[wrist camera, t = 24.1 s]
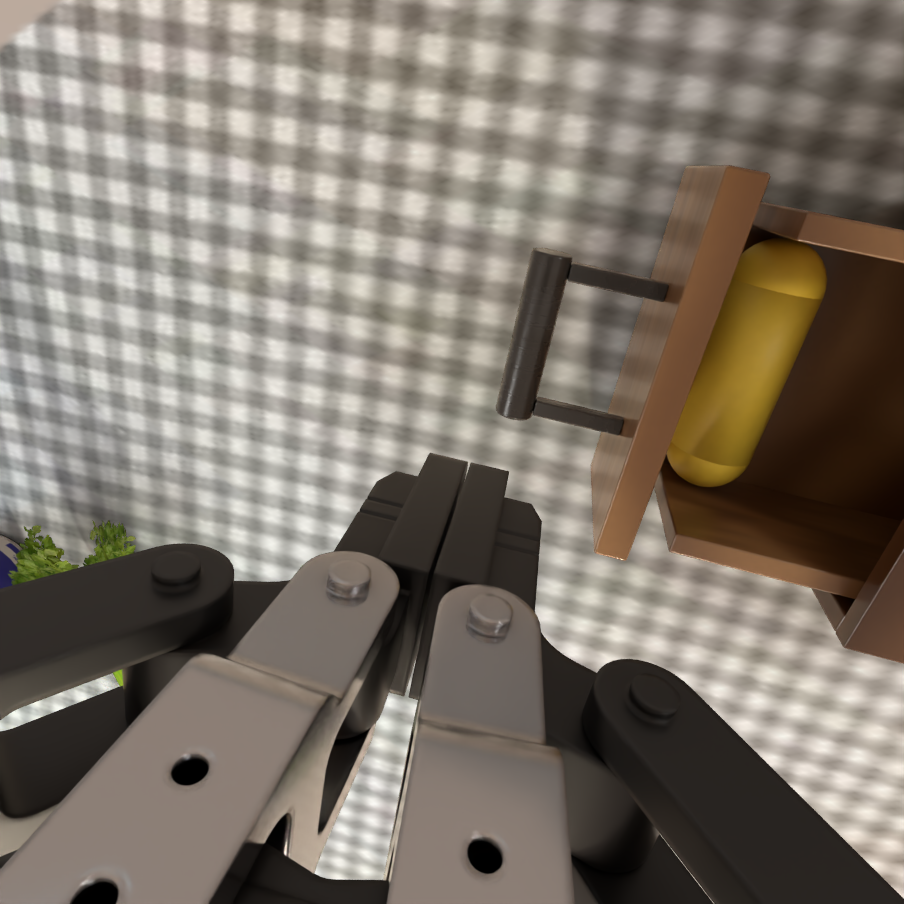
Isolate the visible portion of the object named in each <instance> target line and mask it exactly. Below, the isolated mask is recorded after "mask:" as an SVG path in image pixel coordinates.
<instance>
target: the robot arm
mask: <svg viewBox="0 0 904 904" xmlns="http://www.w3.org/2000/svg"><path fill="white" fill-rule="evenodd" d="M467 466H468V462H466V461H462V460H458V459H454V458H450V457H445V456H441V455H437V454H433V453H430V454H429V455H428V457H427V459H426V461H425V463H424V465H423V467H422V469H421V471H420V473H419V475H418V477H417V476H413V475H409V474H405V473H401V472H397V471H396V472H394V473H392V474H390V475H388V476H386V477H384V478H383V479H381V480H379V481H377V482H376V484H375V486H374V487H373V489H372V490H371V492H370V494H369V495H368V498H367V499H366V500H365V502H364V503H363V505H362V507H361V508H360V512H358V513H357V515H356V516H355V518H354V520H353V521H352V523H351V524H350V526H349V528H348V529H347V531H346V533H345V534H344V536H343V537H342V539H341V541H340V542H339V544H338V545H337V547H336V549H335V550H334V552H329V553H325V554H321V555H318V556H316V557H314V558H312V559H310V560H309V561H307V562H306V563H305V564H304V565H303V566H302V567H301V568H300V569H299V570H298V572H297V573H296V574H295V575H294V576H293V578H292V579H291V580H289V581H280V582H255V581H234V569H233V565H232V564H231V562H230V560H229V559H228V558H227V557H226V556H225V555H223V554H222V553H220V552H219V551H217V550H214V549H212V548H209V547H206V546H202V545H196V544H170V545H164V546H159V547H155V548H151V549H147V550H143V551H140V552H136V553H132V554H128V555H125V556H121V557H117V558H113V559H110V560H106V561H102V562H98V563H95V564H91V565H87V566H83V567H80V568H76V569H72V570H68V571H65V572H61V573H57V574H53V575H49V576H46V577H42V578H38V579H34V580H31V581H27V582H23V583H19V584H16V585H12V586H8V587H4V588H1V589H0V720H1V719H2V718H4V717H5V716H6V715H8V714H9V713H11V712H13V711H15V710H16V709H19V708H21V707H23V706H26V705H29V704H31V703H34V702H36V701H39V700H42V699H44V698H47V697H50V696H52V695H55V694H58V693H60V692H63V691H66V690H68V689H71V688H74V687H76V686H79V685H82V684H84V683H87V682H90V681H92V680H95V679H98V678H100V677H103V676H105V675H108V674H111V673H113V672H116V671H119V670H121V669H122V676H123V686H120V687H117V688H115V689H112V690H110V691H107V692H105V693H102V694H100V695H97V696H95V697H92V698H89V699H87V700H84V701H82V702H79V703H77V704H74V705H72V706H69V707H67V708H64V709H61V710H59V711H56V712H54V713H51V714H49V715H46V716H44V717H41V718H39V719H36V720H33V721H31V722H28V723H26V724H23V725H21V726H18V727H16V728H13V729H10V730H6V731H0V904H713V903H712V901H713V902H714V904H904V899H903V898H902V897H901V896H900V895H899V894H898V893H897V892H896V891H895V890H894V889H893V888H892V887H891V886H890V885H889V884H888V883H887V882H886V881H885V880H884V879H883V878H882V877H881V876H880V875H879V874H878V873H877V872H876V871H875V870H874V869H873V868H872V867H871V866H870V865H869V864H868V863H867V862H866V861H865V860H864V859H863V858H862V857H861V856H860V855H859V854H858V853H857V852H856V851H855V850H854V849H853V848H852V847H851V846H850V845H849V844H848V843H847V842H846V841H845V840H844V839H843V838H842V837H841V836H840V835H839V834H838V833H837V832H836V831H835V830H834V829H833V828H832V827H831V826H830V825H829V824H828V823H827V822H826V821H825V820H824V819H823V818H822V817H821V816H820V815H819V814H818V813H817V812H816V811H815V810H814V809H813V808H812V807H811V806H810V805H809V804H808V803H807V802H806V801H805V800H804V799H803V798H802V797H801V796H800V795H799V794H798V793H797V792H796V791H795V790H793V789H792V788H791V787H790V786H789V785H788V784H787V783H786V782H785V781H784V780H783V779H782V778H781V777H780V776H779V775H778V774H777V773H776V772H775V771H774V770H773V769H772V768H771V767H770V766H769V765H768V764H767V763H766V762H765V761H764V760H763V759H762V758H761V757H760V756H759V755H758V754H757V753H756V752H755V751H754V750H753V749H752V748H751V747H750V746H749V745H748V744H747V743H746V742H745V741H744V740H743V739H742V738H741V737H740V736H739V735H738V734H737V733H736V732H735V731H734V730H733V729H732V728H731V727H730V726H729V725H728V724H727V723H726V722H725V721H724V720H723V719H722V718H721V717H720V716H719V715H718V714H717V713H716V712H715V711H714V710H713V709H712V708H711V707H710V706H709V705H708V704H707V703H706V702H705V701H704V700H703V699H702V698H701V697H700V696H699V695H698V694H697V693H696V692H695V691H694V690H693V689H692V688H691V687H689V686H688V685H687V684H686V683H685V682H684V681H683V680H681V679H680V678H678V677H677V676H676V675H674V674H673V673H671V672H669V671H667V670H666V669H664V668H661V667H659V666H657V665H654V664H651V663H648V662H645V661H640V660H633V659H620V660H615V661H612V662H610V663H607V664H606V665H604V666H603V667H602V668H601V669H600V670H599V671H598V672H597V673H596V672H594V671H592V670H590V669H588V668H586V667H584V666H582V665H580V664H578V663H576V662H575V661H573V660H571V659H569V658H568V657H566V656H564V655H563V654H562V653H560V652H559V651H558V650H556V649H555V648H554V647H553V646H552V645H551V644H550V643H549V642H548V641H547V640H546V639H545V637H544V636H543V634H542V633H541V628H540V622H539V620H538V617H537V615H536V614H535V600H536V588H537V575H538V562H539V550H540V537H541V524H542V521H541V519H540V518H539V516H538V514H537V513H536V511H535V509H534V507H533V506H532V504H529V503H525V502H521V501H517V500H513V499H509V498H505V497H504V495H505V490H506V485H507V480H508V475H509V471H505V470H500V469H496V468H492V467H488V466H484V465H479V464H475V463H471V464H470V467H469V470H468V473H467V476H466V472H467ZM465 477H466V479H465ZM464 481H465V482H464ZM416 657H417V658H416ZM415 660H416V663H415ZM414 663H415V668H414V673H413V678H412V683H411V688H410V693H409V698H413V699H416V700H418V703H417V708H416V713H415V717H414V723H413V727H412V731H411V736H410V741H409V745H408V750H407V755H406V761H405V766H404V771H403V777H402V782H401V787H400V793H399V798H398V803H397V809H396V814H395V819H394V825H393V830H392V835H391V840H390V846H389V851H388V856H387V862H386V867H385V872H384V877H383V880H333V879H326V878H323V877H320V876H318V875H316V874H314V873H315V870H316V867H317V864H318V861H319V858H320V856H321V853H322V851H323V849H324V846H325V844H326V842H327V839H328V837H329V835H330V833H331V831H332V828H333V826H334V824H335V822H336V819H337V817H338V815H339V813H340V810H341V808H342V806H343V804H344V801H345V799H346V797H347V795H348V792H349V790H350V788H351V786H352V783H353V781H354V779H355V777H356V774H357V772H358V770H359V768H360V765H361V763H362V761H363V759H364V756H365V754H366V752H367V750H368V748H369V745H370V743H371V741H372V738H373V735H374V731H375V726H376V722H377V720H378V719H379V717H380V715H381V713H382V711H383V708H384V705H385V702H386V699H387V696H388V693H389V692H390V693H393V694H397V695H401V696H404V695H405V692H406V689H407V686H408V682H409V679H410V676H411V673H412V670H413V667H414ZM660 834H661V835H662V837H663V838H664V839H665V840H666V842H667V843H668V844H669V846H670V847H671V848H672V849H673V851H674V852H675V853H676V855H677V856H678V857H679V859H680V860H681V861H682V862H683V864H684V865H685V866H686V868H687V869H688V870H689V871H690V873H691V874H692V875H693V877H694V878H695V879H696V880H697V882H698V883H699V884H700V886H701V887H702V888H703V889H704V891H705V892H706V893H707V895H708V896H709V897H710V898H711V900H712V901H711V900H710V899H709V897H708V896H707V895H706V894H705V892H704V891H703V890H702V888H701V887H700V886H699V884H698V883H697V882H696V881H695V879H694V878H693V877H692V875H691V874H690V873H689V872H688V870H687V869H686V868H685V866H684V865H683V864H682V863H681V861H680V860H679V859H678V857H677V856H676V855H675V853H674V852H673V851H672V850H671V848H670V847H669V846H668V844H667V843H666V842H665V841H664V839H663V838H662V837H661V835H660Z"/></svg>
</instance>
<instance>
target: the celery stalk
mask: <svg viewBox="0 0 904 904" xmlns="http://www.w3.org/2000/svg"><path fill="white" fill-rule="evenodd" d="M102 522H103V520H102ZM93 523H94V528H93V529H94V531H93V530H92V532H91V535H90V539H92V540H94V538H95V535H98V536H99V535H100V536H99V537H100V541H101V543H102V544H103V543H104V545H102V544H99V540H98V536H97V539H96V545H97V543H98V545H97V547H96V548H94V551H96V552H95V553H96V556H95V555H94V556H93V555H92V554H91V555H89V558H85V560H84V562H85V563H86V564H87V565H90V564H95V563H98V562H102V561H106V560H110V559H113V558H117V557H121V556H125V555H128V554H132V553H134V552H133V551H134V550H135V548H136V546H135V545H134V546H130V545H131V544H130V543H125V542H127V541H134V539H136V538H134V537H133V536H129V537H128V538H127V536H126V528H125V532H124V526H123V524H122V525H120V522H119V524H118V527H116V525H114V523H113V524H112V528H111V523H110V521H108V522H107V524H106V526H105V524H104V522H103V524H102V525H103V527H104V529H103V527H102V526H101V527H100V526H99V529H98V528H97V527H96V526H95V522H94V521H93ZM24 529H25V531H27V532H28V533H29V534H28V536H29V539H28V538H26V539H25V540H26V541H24V542H25V545H26V546H27V547H28V548H26V547H25V546H24V544H21V543H19V544H20V546H21V547H22V548H23V549H24V548H25V549H24V550H20V551H19V552H18V554H16V557H17V558H18V560H17V561H18V562H19V563H17V564H16V565H17V567H18V569H17V570H18V571H19V572H18V571H17V572H16V571H13V570H12V571H10V572H11V573H12V574H13V575H12V574H8V575H9V577H10V578H11V579H14V580H15V581H14V580H12V582H11V583H12V584H13V585H16V584H19V583H23V582H27V581H31V580H34V579H38V578H42V577H46V576H49V575H53V574H57V573H61V572H65V571H68V570H72V569H76V568H78V566H79V565H71V564H70V563H67V562H68V561H66V560H65V561H63V562H62V561H61V560H60V558H61V556H62V555H64V550H63V551H62V549H60V548H56V546H55V544H54V543H53V541H52V539H51V537H49V535H47V537H46V538H45V539H43V537H42V536H39V537H36V538H35V534H37V533H40V532H41V530H40V529H41V526H38V525H37V526H33V528H32V530H31V529H30V530H27V529H26V527H25V526H24ZM95 531H96V532H97V533H98V534H97V533H96V532H95ZM32 532H33V533H32ZM117 534H118V536H117V538H116V535H117ZM33 536H34V538H33ZM122 536H124V538H122ZM125 536H126V537H125ZM119 537H120V538H119ZM103 538H104V541H103ZM35 539H38V540H39V541H40V542H41V541H42V543H41V546H40V545H39V543H38V542H36V541H35V542H34V540H35ZM42 539H43V540H42ZM106 539H107V540H106ZM124 541H125V542H124ZM123 543H124V544H126V547H127V548H125V551H124V547H125V546H124V544H123ZM42 544H43V545H42ZM100 545H101V546H100ZM102 546H103V547H102ZM42 547H43V548H44V549H43V548H42ZM37 548H38V549H37ZM39 548H40V549H42V550H40V549H39ZM35 549H36V550H35ZM121 549H122V550H123V551H122V550H121ZM59 550H60V551H59ZM56 555H57V557H56ZM45 558H46V559H45ZM98 559H99V560H98ZM57 564H58V565H57ZM83 565H84V566H87V565H85V564H84V563H83ZM113 674H114V676H115V678H116V680H117V682H118V683H119V685H120V686H123V676H122V669H121V670H119V671H116V672H113Z"/></svg>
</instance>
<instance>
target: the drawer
mask: <svg viewBox="0 0 904 904" xmlns="http://www.w3.org/2000/svg"><path fill="white" fill-rule="evenodd" d="M769 179H770V174H769V173H766V172H760V171H755V170H750V169H745V168H740V167H735V166H730V165H721V166H686V168H685V170H684V174H683V177H682V180H681V183H680V186H679V189H678V193H677V196H676V199H675V202H674V205H673V208H672V211H671V215H670V218H669V221H668V224H667V227H666V230H665V233H664V237H663V240H662V243H661V246H660V249H659V252H658V255H657V259H656V262H655V265H654V268H653V271H652V274H651V277H650V278H645V277H641V276H636V275H632V274H627V273H622V272H618V271H613V270H609V269H604V268H599V267H595V266H590V265H586V264H581V263H576V262H572V256H571V255H569V254H567V253H564V252H560V251H557V250H552V249H547V248H533V249H532V252H531V256H530V261H529V265H528V269H527V274H526V278H525V282H524V287H523V291H522V295H521V300H520V304H519V308H518V313H517V317H516V321H515V326H514V330H513V334H512V339H511V343H510V348H509V352H508V356H507V361H506V365H505V369H504V374H503V378H502V382H501V387H500V391H499V395H498V400H497V404H496V411H497V412H498V413H499V414H500V415H502V416H504V417H506V418H509V419H513V420H528V419H530V418H531V416H532V413H533V415H534V416H538V417H542V418H547V419H551V420H555V421H559V422H563V423H567V424H572V425H576V426H580V427H584V428H588V429H592V430H597V431H601V435H600V438H599V441H598V444H597V447H596V451H595V454H594V457H593V460H592V463H591V485H592V511H593V537H594V552H595V553H597V554H601V555H605V556H608V557H612V558H616V559H620V560H624V561H625V560H627V558H628V555H629V552H630V550H631V547H632V544H633V542H634V539H635V536H636V534H637V531H638V528H639V526H640V523H641V520H642V518H643V515H644V512H645V510H646V507H647V504H648V502H649V499H650V496H651V494H652V491H653V488H655V493H656V497H657V501H658V505H659V510H660V514H661V518H662V523H663V527H664V531H665V535H666V540H667V544H668V548H669V551H670V552H672V553H676V554H680V555H684V556H688V557H692V558H696V559H700V560H704V561H708V562H712V563H715V564H719V565H723V566H727V567H731V568H735V569H739V570H743V571H747V572H751V573H755V574H759V575H762V576H766V577H770V578H774V579H778V580H782V581H786V582H790V583H794V584H798V585H802V586H806V587H810V588H813V589H817V590H821V591H825V592H829V593H833V594H837V595H841V596H845V597H849V598H853V599H856V597H857V596H858V594H859V592H860V591H861V589H862V587H863V586H864V584H865V582H866V581H867V579H868V577H869V575H870V574H871V572H872V570H873V569H874V567H875V565H876V564H877V562H878V560H879V559H880V557H881V555H882V554H883V552H884V550H885V549H886V547H887V545H888V544H889V542H890V540H891V539H892V537H893V535H894V534H895V532H896V530H897V528H898V527H899V525H900V523H901V522H902V520H903V518H904V230H900V229H895V228H890V227H885V226H880V225H875V224H870V223H865V222H860V221H856V220H851V219H846V218H841V217H836V216H831V215H826V214H821V213H816V212H811V211H806V210H801V209H796V208H790V207H785V206H780V205H775V204H770V203H764V202H761V201H762V198H763V195H764V193H765V190H766V187H767V185H768V182H769ZM773 238H789V239H793V240H795V241H799V242H803V243H805V244H807V245H809V246H810V247H812V248H813V249H814V250H815V251H816V252H817V253H818V255H819V256H820V258H821V259H822V261H823V263H824V266H825V268H826V274H827V286H826V291H825V294H824V297H823V300H822V302H821V304H820V306H819V309H818V311H817V313H816V315H815V318H814V320H813V322H812V324H811V327H810V329H809V331H808V333H807V335H806V338H805V340H804V342H803V344H802V347H801V349H800V351H799V353H798V356H797V358H796V360H795V362H794V365H793V367H792V369H791V371H790V374H789V376H788V378H787V380H786V383H785V385H784V387H783V389H782V392H781V394H780V396H779V398H778V401H777V403H776V405H775V407H774V410H773V412H772V414H771V416H770V419H769V421H768V423H767V425H766V427H765V430H764V432H763V434H762V436H761V439H760V441H759V443H758V445H757V448H756V450H755V452H754V454H753V457H752V459H751V461H750V463H749V465H748V467H747V468H746V470H745V471H744V472H743V473H742V474H741V475H740V476H739V477H738V478H736V479H735V480H733V481H732V482H729V483H727V484H725V485H722V486H716V487H702V486H697V485H694V484H691V483H689V482H687V481H686V480H684V479H683V478H681V477H680V476H679V475H678V474H677V473H676V472H675V471H674V469H673V468H672V466H671V464H670V462H669V460H668V457H667V451H668V448H669V446H670V443H671V440H672V438H673V435H674V432H675V430H676V427H677V424H678V422H679V419H680V416H681V414H682V411H683V408H684V406H685V403H686V400H687V398H688V395H689V392H690V390H691V387H692V384H693V382H694V379H695V376H696V374H697V371H698V368H699V366H700V363H701V360H702V358H703V355H704V352H705V350H706V347H707V344H708V342H709V339H710V336H711V334H712V331H713V328H714V326H715V323H716V320H717V318H718V315H719V312H720V310H721V307H722V304H723V302H724V299H725V296H726V294H727V291H728V288H729V286H730V283H731V280H732V278H733V275H734V272H735V270H736V267H737V265H738V262H739V259H740V257H741V254H742V253H743V252H744V251H746V250H747V249H749V248H750V247H752V246H753V245H755V244H757V243H760V242H762V241H765V240H769V239H773ZM567 278H568V281H569V282H573V283H577V284H582V285H586V286H591V287H595V288H600V289H604V290H609V291H613V292H618V293H623V294H627V295H632V296H636V297H641V298H644V300H643V303H642V306H641V309H640V312H639V315H638V318H637V322H636V325H635V328H634V331H633V334H632V337H631V340H630V344H629V347H628V350H627V353H626V356H625V359H624V362H623V366H622V369H621V372H620V375H619V378H618V381H617V384H616V388H615V391H614V394H613V397H612V400H611V403H610V407H609V410H608V413H605V412H601V411H597V410H593V409H588V408H584V407H580V406H576V405H571V404H567V403H563V402H559V401H555V400H550V399H546V398H542V397H537V394H538V390H539V386H540V382H541V378H542V375H543V371H544V367H545V363H546V359H547V355H548V351H549V348H550V344H551V340H552V336H553V332H554V328H555V324H556V321H557V317H558V313H559V309H560V305H561V301H562V298H563V294H564V290H565V286H566V282H567Z"/></svg>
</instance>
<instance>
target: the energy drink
mask: <svg viewBox="0 0 904 904" xmlns="http://www.w3.org/2000/svg"><path fill="white" fill-rule="evenodd" d="M20 550H23V549H22V548H21V547H20V546H19V545H18V544H16V543H15V542H13V541H12V540H10V539H8V538H6V537H4V536H1V535H0V589H1V588H4V587H8V586H12V585H13V584H12V583H11V582H12V580H14V579H11V578H10V577H9V575H8V574H12V573H11V572H10V571H12V570H13V571H16V572H17V571H18V570H17V569H18V567H17V565H16V564H17V563H19V562H18V561H17V560H18V558H17V557H16V554H18V552H19V551H20ZM18 572H19V571H18ZM12 575H13V574H12ZM14 581H15V580H14Z"/></svg>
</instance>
